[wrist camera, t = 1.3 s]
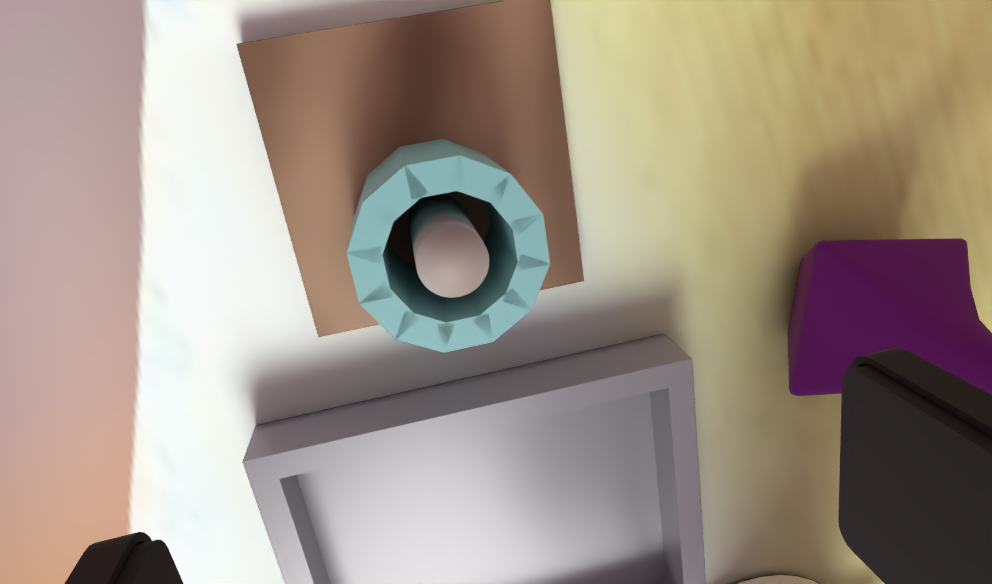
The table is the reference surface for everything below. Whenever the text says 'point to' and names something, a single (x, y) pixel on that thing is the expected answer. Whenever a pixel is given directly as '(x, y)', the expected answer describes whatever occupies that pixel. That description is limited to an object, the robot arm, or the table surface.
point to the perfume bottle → (885, 311)
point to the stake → (413, 139)
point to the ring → (397, 286)
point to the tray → (495, 478)
